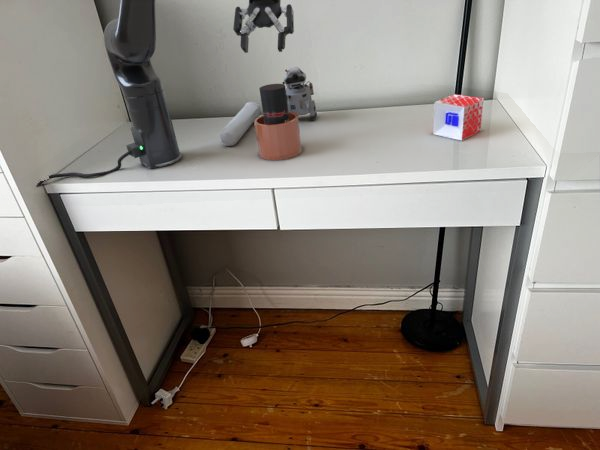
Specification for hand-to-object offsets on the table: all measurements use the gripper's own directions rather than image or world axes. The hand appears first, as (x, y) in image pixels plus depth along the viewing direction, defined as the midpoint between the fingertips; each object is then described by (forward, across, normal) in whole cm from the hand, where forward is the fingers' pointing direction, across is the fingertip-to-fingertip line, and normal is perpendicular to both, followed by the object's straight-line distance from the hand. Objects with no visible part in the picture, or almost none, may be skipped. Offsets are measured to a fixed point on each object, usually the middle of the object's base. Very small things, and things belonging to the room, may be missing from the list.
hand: (262, 51), depth 107 cm
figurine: (+11, +5, +25) cm, 28 cm away
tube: (+15, -10, +20) cm, 27 cm away
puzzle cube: (+17, +47, +11) cm, 51 cm away
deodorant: (+23, +4, +5) cm, 24 cm away
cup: (+23, +4, +5) cm, 24 cm away
